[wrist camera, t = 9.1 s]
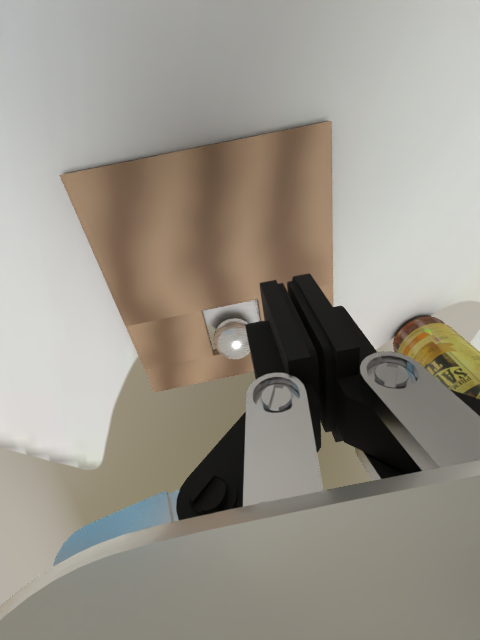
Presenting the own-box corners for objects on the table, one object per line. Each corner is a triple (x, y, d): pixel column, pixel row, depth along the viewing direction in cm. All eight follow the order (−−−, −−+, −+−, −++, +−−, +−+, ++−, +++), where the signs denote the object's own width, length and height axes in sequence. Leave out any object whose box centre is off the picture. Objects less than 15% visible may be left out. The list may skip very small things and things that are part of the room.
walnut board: (326, 121, 24) (331, 121, 23) (330, 349, 36) (333, 354, 35) (64, 173, 24) (59, 175, 23) (155, 385, 35) (154, 392, 35)
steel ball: (258, 357, 32) (250, 320, 33) (259, 351, 28) (250, 309, 29) (220, 365, 32) (213, 327, 33) (215, 360, 28) (207, 318, 29)
